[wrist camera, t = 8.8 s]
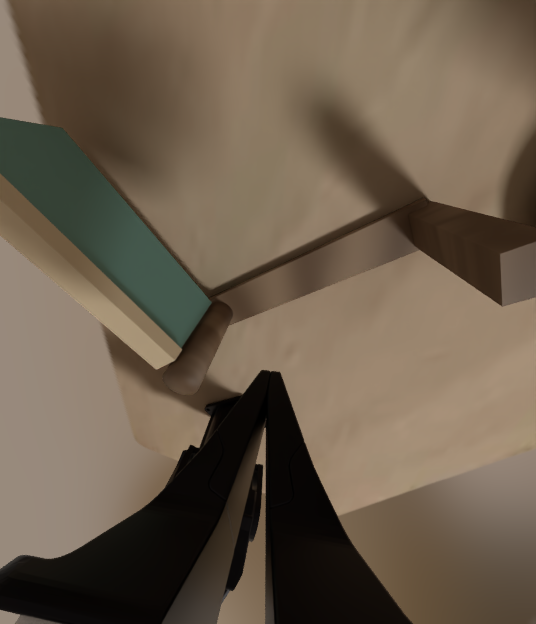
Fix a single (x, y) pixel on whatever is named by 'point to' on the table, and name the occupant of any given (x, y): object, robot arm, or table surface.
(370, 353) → the table surface
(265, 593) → the robot arm
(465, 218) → the gate frame
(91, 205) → the panel
